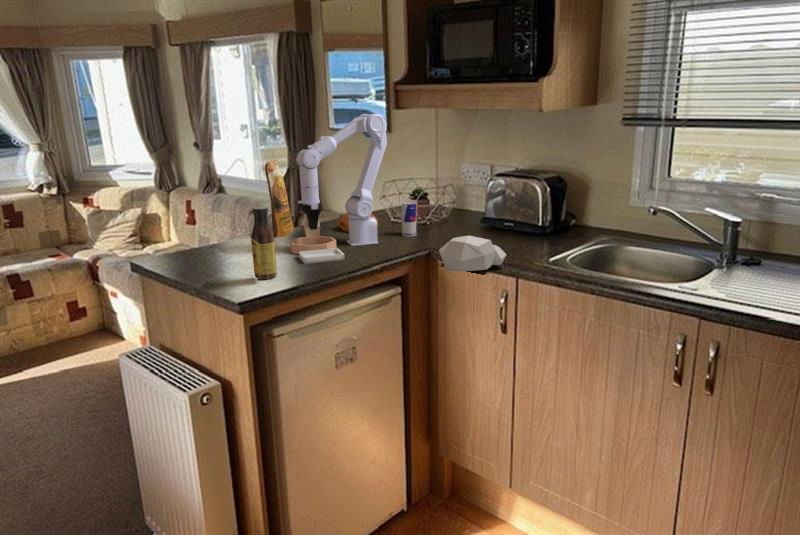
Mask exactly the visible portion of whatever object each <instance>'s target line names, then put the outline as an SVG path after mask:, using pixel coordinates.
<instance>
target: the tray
mask: <svg viewBox="0 0 800 535" xmlns="http://www.w3.org/2000/svg"><path fill="white" fill-rule="evenodd" d="M345 256H346V255H345V253H344V252H342V250H340V248H338V247H337V248H332V249H322V250H311V251H300V252H299V254H298V258H299V259H300V260H301V262H302V263H303V264H304V265H307V264H309V265H310V264H317V263H318V264H319V263H327V262H329V263H330V262H338V261H345V260H346V259H345V258H346V257H345Z"/></svg>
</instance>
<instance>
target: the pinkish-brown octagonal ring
mask: <svg viewBox="0 0 800 535" xmlns="http://www.w3.org/2000/svg"><path fill="white" fill-rule="evenodd" d="M332 248H338V247H337V240H336V239H335V238H334V237H333V236H325V235H324V236H323V235H320V236H313V237H307V236H302V237H298V238H293V239H291V240H289V250H290V252H292V254H295V255H299V252H300V251H311V250H322V249H332Z"/></svg>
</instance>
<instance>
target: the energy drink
mask: <svg viewBox="0 0 800 535" xmlns="http://www.w3.org/2000/svg"><path fill="white" fill-rule="evenodd" d="M416 203H417V202H413V201H405V202H402V203H401V232H402V233H401V236H403V237H406V238H407V237H409V238H410V237H411V236H412V237H416V236H418V235H417V234H418V228H417V227H418V223H417V221H418V220H417V218H418V217H417V204H416Z"/></svg>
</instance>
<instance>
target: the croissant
mask: <svg viewBox="0 0 800 535" xmlns="http://www.w3.org/2000/svg"><path fill="white" fill-rule="evenodd" d="M370 217H375V219H376V222H377V229H378V228H379V220H378V218H377V216H375V215H374V214H373V213H371V215H370ZM337 224H339V225H338V226H339V228H340V229H341V230H342V231H343V232H346V233H349V213H347V212H346V214H344V215H343V216H342V217H341V218H340V220H338V222H337Z"/></svg>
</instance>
